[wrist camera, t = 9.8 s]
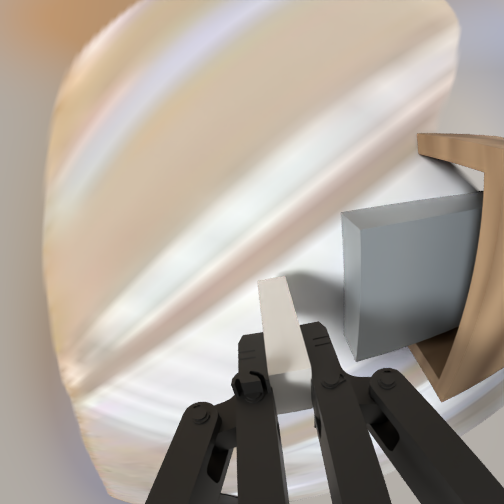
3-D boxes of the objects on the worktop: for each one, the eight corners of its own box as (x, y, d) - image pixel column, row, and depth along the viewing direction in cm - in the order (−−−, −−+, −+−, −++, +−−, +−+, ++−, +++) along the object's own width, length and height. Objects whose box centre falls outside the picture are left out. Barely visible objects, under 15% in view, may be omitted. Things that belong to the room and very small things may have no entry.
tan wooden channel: (404, 340, 19) (441, 402, 13) (416, 133, 13) (503, 149, 7) (474, 313, 19) (515, 359, 13) (497, 136, 13) (567, 155, 6)
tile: (342, 332, 19) (356, 361, 16) (339, 211, 15) (360, 229, 12) (466, 294, 18) (486, 313, 16) (482, 190, 15) (510, 202, 12)
